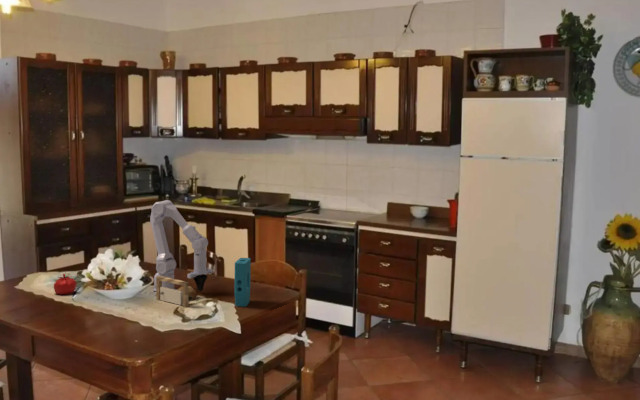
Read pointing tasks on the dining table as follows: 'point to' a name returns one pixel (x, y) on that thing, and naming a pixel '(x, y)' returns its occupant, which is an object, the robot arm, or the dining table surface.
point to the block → (242, 281)
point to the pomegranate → (65, 285)
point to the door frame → (174, 281)
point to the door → (171, 295)
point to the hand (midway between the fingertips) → (200, 290)
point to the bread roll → (190, 293)
